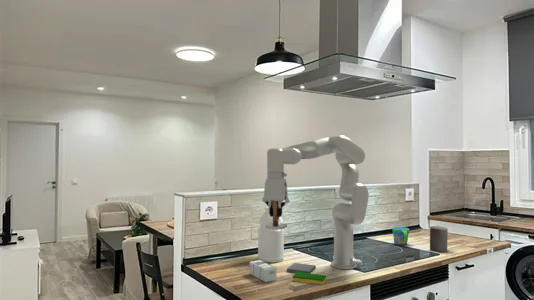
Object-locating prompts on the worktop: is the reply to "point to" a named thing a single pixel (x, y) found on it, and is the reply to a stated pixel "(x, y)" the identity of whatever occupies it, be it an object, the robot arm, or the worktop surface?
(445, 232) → the pillar candle
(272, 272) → the syrup box
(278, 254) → the bottle
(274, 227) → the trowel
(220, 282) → the worktop surface
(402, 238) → the snack cup
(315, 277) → the dish sponge
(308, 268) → the rubber mat
